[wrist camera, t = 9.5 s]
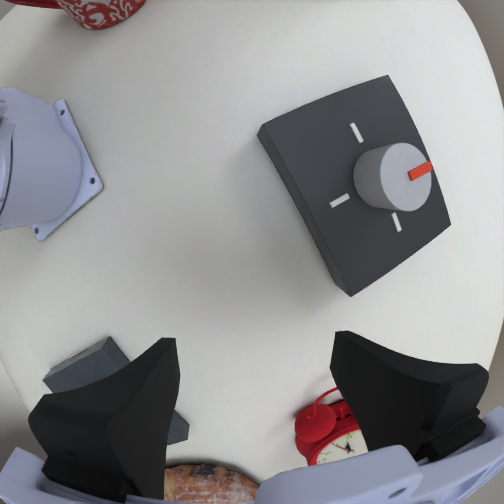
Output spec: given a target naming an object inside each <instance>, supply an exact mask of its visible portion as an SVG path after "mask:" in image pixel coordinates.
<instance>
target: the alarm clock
mask: <svg viewBox="0 0 504 504" xmlns="http://www.w3.org/2000/svg"><path fill="white" fill-rule="evenodd" d="M335 390H338V387H336V388H333V389H331V390H329V391H327V392H325V393H324V394H323V395H321V396H320V397H319V398H318V399H317V400H316V402H315V404H314V405H311V406H309V407H307V408H306V409H304V410H303V411H302V412H301V413H300V414H299V415H298V417H297V418H296V421H295V432H296V434H297V437H296V446H297V449H298V451H299V452H300V453H301V454H302V455H303V456H305V457H306V459H307V463H308V466H312V465H318V464H323V463H328V462H332V461H337V460H341V459H345V458H349V457H353V456H356V455H360V454H364V453H367V452H368V449H367V446H366V443H365V441H364V438H363V435H362V433H361V430H360V428H359V425H358V423H357V421H356V419H355V417H354V415H353V413H352V412H351V410H350V408H349V406H348V405H347V403H346V401H342V402H339V403H336V404H334V405H332V406H328V405H326V404H320V403H319V404H318V402H319V401H320V400H321V399H322V398H323V397H324V396H326V395H327V394H329V393H331V392H333V391H335ZM348 414H349V415H348ZM346 415H347V416H346Z"/></svg>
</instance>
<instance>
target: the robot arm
mask: <svg viewBox="0 0 504 504" xmlns="http://www.w3.org/2000/svg"><path fill="white" fill-rule="evenodd" d="M64 111H65V113H64V114H63V115H62V113H63V112H64ZM93 178H95V183H94V184H93V183H92V179H93ZM102 188H103V184H102V182H101V180H100V178H99V176H98V174H97V172H96V170H95V168H94V166H93V163H92V161H91V159H90V157H89V155H88V153H87V151H86V149H85V146H84V144H83V142H82V140H81V137H80V135H79V133H78V131H77V128H76V126H75V124H74V121H73V119H72V116H71V114H70V111H69V109H68V106H67V104H66V101H65V100H63V99H59V100H58V101H57V102H56V103H54V104H53V105H52V104H50V103H47V102H45V101H43V100H41V99H39V98H37V97H34V96H32V95H30V94H28V93H25V92H23V91H21V90H19V89H16V88H12V87H5V88H0V232H1V231H5V230H9V229H13V228H18V227H22V226H26V225H30V226H31V229H32V231H33V233H34V235H35V237H36V239H37V240H38V241H43V240H44V239H45V238H46V237H48V236H49V235H50V234H51V233H52V232H53V231H54V230H55V229H56V228H57V227H58V226H60V225H61V224H62V223H63V222H64V221H65V220H66V219H67V218H69V217H70V216H71V215H72V214H73V213H74V212H76V211H77V210H78V209H79V208H80V207H82V206H83V205H84V204H85V203H86V202H88V201H89V200H90V199H91V198H93V197H94V196H95V195H96V194H98V193H99V192H100V191H101V190H102ZM37 228H38V229H39V232H38V231H37ZM330 370H331V373H332V376H333V378H334V381H335V383H336V385H337V387H338V389H339V391H340V393H341V394H342V396H343V398H344V400H345V401H346V403H347V405H348V406H349V408H350V410H351V412H352V413H353V415H354V417H355V419H356V421H357V423H358V425H359V428H360V430H361V433H362V435H363V438H364V441H365V443H366V446H367V449H368V452H367V453H364V454H360V455H356V456H353V457H349V458H345V459H341V460H337V461H332V462H328V463H323V464H318V465H312V466H306V467H300V468H297V469H293V470H289V471H285V472H281V473H279V474H277V475H275V476H273V477H271V478H269V479H267V480H265V481H264V482H262V484H261V485H260V486H259V488H258V489H257V491H256V496H255V501H252V502H246V503H240V504H459V503H460V502H461V501H463V500H464V499H466V498H467V497H468V496H470V495H471V494H472V493H473V492H475V491H476V490H477V489H479V488H480V487H481V486H482V485H483V484H485V483H486V482H487V481H488V480H489V479H490V478H492V477H493V476H494V475H495V474H496V473H498V472H499V471H500V470H501V469H502V467H503V466H504V409H502V407H501V406H498V407H496V408H495V409H493V410H492V411H491V412H489V413H488V414H486V415H485V416H484V417H483V418H482V419H480V418H479V417H478V415H479V413H480V410H478V409H477V408H476V406H477V404H478V403H479V401H480V399H481V397H482V395H483V393H484V391H485V388H486V386H487V383H488V379H489V373H488V371H487V370H486V369H485V368H483V367H482V366H481V365H479V364H477V363H474V364H449V363H439V362H432V361H427V360H422V359H417V358H414V357H410V356H407V355H404V354H401V353H398V352H395V351H393V350H390V349H388V348H386V347H383V346H381V345H379V344H377V343H375V342H372V341H370V340H368V339H366V338H364V337H362V336H360V335H358V334H355V333H353V332H350V331H338V332H335V339H334V345H333V351H332V357H331V363H330ZM179 383H180V369H179V362H178V355H177V348H176V339H175V338H161V339H159V340H158V341H157V342H156V343H155V344H153V345H152V346H151V347H150V348H149V349H148V350H146V351H145V352H144V353H143V354H141V355H140V356H139V357H138V358H136V359H135V360H133V361H132V362H131V363H129V364H128V365H126V366H125V367H124V368H122V369H120V370H119V371H117V372H115V373H113V374H112V375H110V376H108V377H106V378H104V379H101V380H99V381H96V382H94V383H92V384H89V385H86V386H83V387H80V388H77V389H73V390H69V391H64V392H58V393H52V394H44V395H43V397H42V398H41V399H40V401H39V402H38V403H37V405H36V406H35V408H34V409H33V410H32V412H31V413H30V415H29V418H28V422H29V426H30V429H31V431H32V432H33V434H34V436H35V437H36V439H37V440H38V442H39V443H40V445H41V446H42V448H43V449H44V451H45V452H46V453H47V455H48V458H47V460H46V462H44V461H43V460H42V459H41V458H39V457H38V456H36V455H33V454H31V453H29V452H27V451H25V450H23V449H21V448H19V447H16V448H15V450H14V451H13V453H12V454H11V456H10V458H9V460H8V461H7V463H6V464H5V466H4V468H3V470H2V471H1V473H0V498H1V499H2V500H4V501H5V502H6V503H7V504H202V503H185V502H174V501H165V500H164V479H165V460H166V448H167V439H168V433H169V428H170V424H171V420H172V416H173V412H174V408H175V404H176V400H177V396H178V392H179Z"/></svg>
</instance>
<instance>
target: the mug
mask: <svg viewBox="0 0 504 504" xmlns="http://www.w3.org/2000/svg"><path fill="white" fill-rule="evenodd" d="M5 1H8V2H11V3H14V4H18V5H25V6H32V7H41V8H52V9H64V10H65V11H66V12H67V13H68V14H69V15H70V16H71V17H72V18H73V19H74V20H75V21H76V22H77V23H78V24H79V25H80V26H82V27H83V28H85V29H89V30H98V29H104V28H107V27H110V26H113V25H115V24H118V23H119V22H121V21H123V20H125V19H126V18H128V17H130V16H131V15H132V14H134V13H135V12H136V11H137V10H138V9H139V8H140V7H141V6H142V5H143V4H144V2H145V1H146V0H5Z"/></svg>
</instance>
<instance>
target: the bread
mask: <svg viewBox="0 0 504 504" xmlns="http://www.w3.org/2000/svg"><path fill="white" fill-rule="evenodd" d="M258 488H259V485H258V484H256V483H255V482H254V481H252V480H251V479H250V478H247V477H246V476H244V475H240V474H239V473H237V472H235V471H227V470H226V468H225V467H222V466H215V465H211V464H201V466H199V465H198V466H197V465H192V464H190V465H180V466H177V467H173V468H170V469H169V468H166V469H165V479H164V500H165V501H174V502H185V503H202V504H240V503H246V502H252V501H255V496H256V491H257V489H258Z"/></svg>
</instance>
